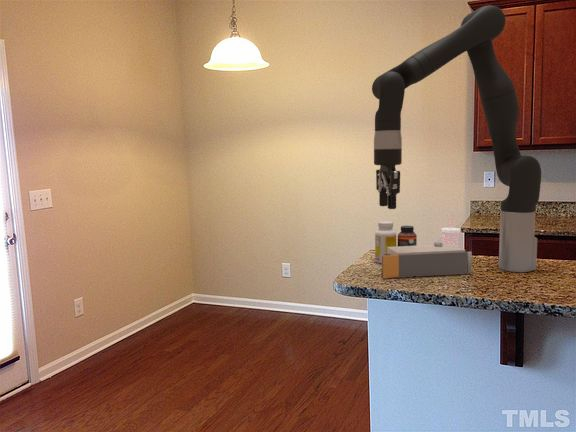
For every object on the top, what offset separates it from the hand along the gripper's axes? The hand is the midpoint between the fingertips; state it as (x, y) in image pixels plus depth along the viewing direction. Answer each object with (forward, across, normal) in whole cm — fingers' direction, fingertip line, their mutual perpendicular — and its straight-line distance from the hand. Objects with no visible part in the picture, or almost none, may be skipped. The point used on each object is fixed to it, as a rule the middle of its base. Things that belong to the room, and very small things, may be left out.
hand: (387, 207), depth 141 cm
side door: (+19, -3, -11) cm, 22 cm away
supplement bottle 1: (+20, +18, -5) cm, 27 cm away
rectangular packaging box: (+20, +2, -12) cm, 23 cm away
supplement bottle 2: (+20, +18, -12) cm, 29 cm away
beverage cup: (+20, +22, -29) cm, 42 cm away
